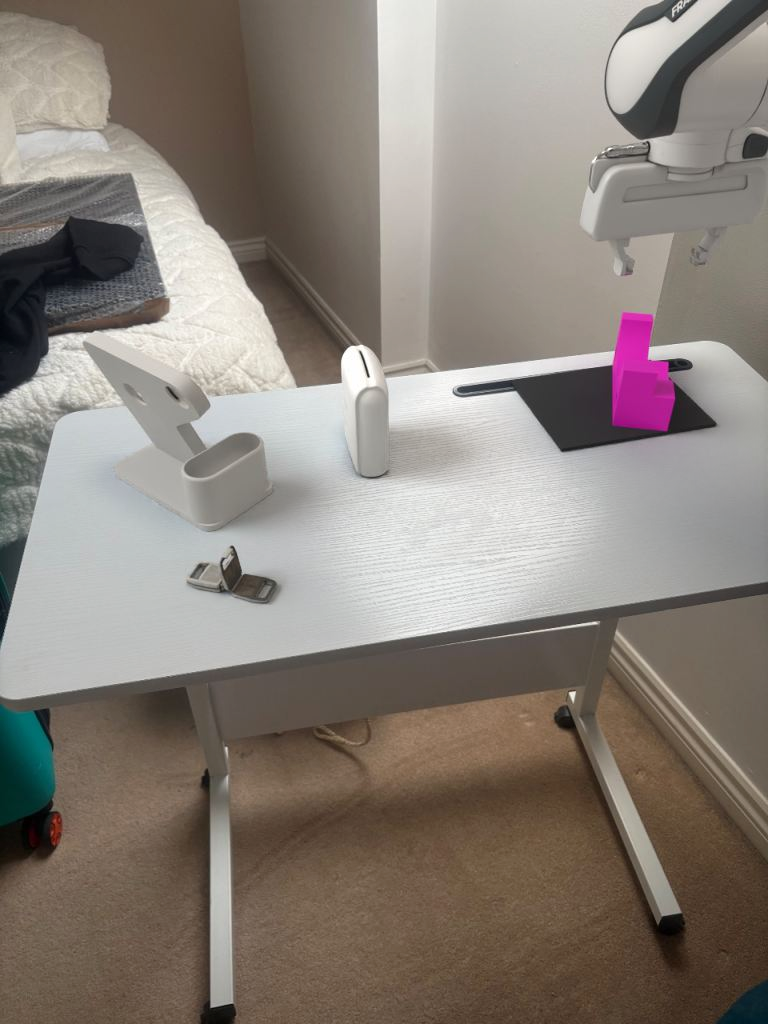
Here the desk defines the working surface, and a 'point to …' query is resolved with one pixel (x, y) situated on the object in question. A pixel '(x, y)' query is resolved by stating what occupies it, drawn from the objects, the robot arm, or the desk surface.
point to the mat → (595, 409)
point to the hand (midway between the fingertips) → (660, 269)
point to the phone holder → (180, 441)
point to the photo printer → (365, 410)
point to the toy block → (640, 378)
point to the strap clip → (229, 578)
